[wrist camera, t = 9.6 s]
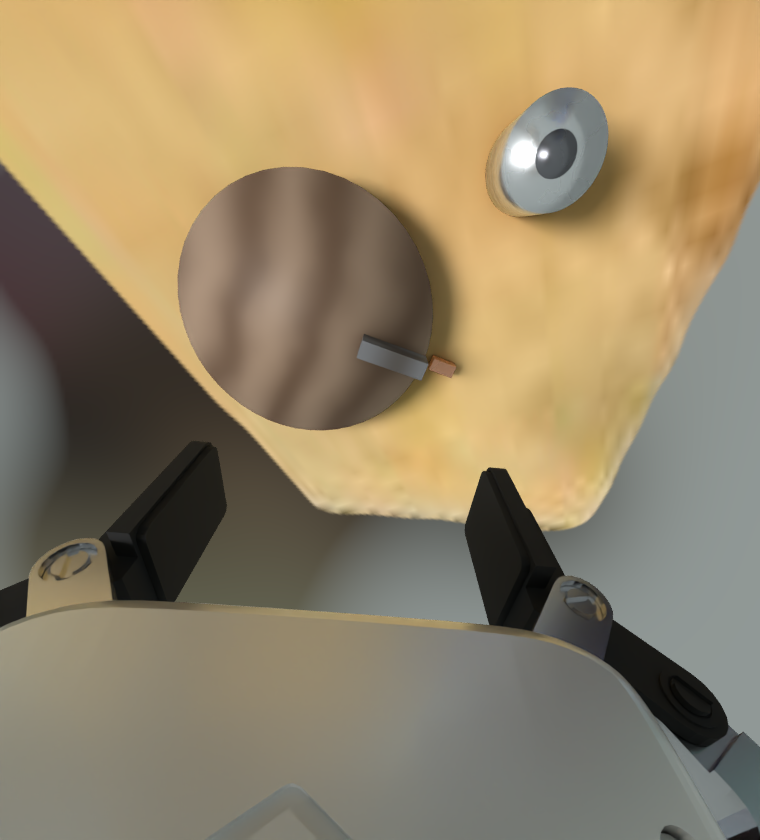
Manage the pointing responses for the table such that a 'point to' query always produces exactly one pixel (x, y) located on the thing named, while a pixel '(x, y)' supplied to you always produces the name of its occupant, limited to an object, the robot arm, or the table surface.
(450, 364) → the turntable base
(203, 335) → the turntable
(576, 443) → the table surface
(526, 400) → the table surface
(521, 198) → the aluminium cover
